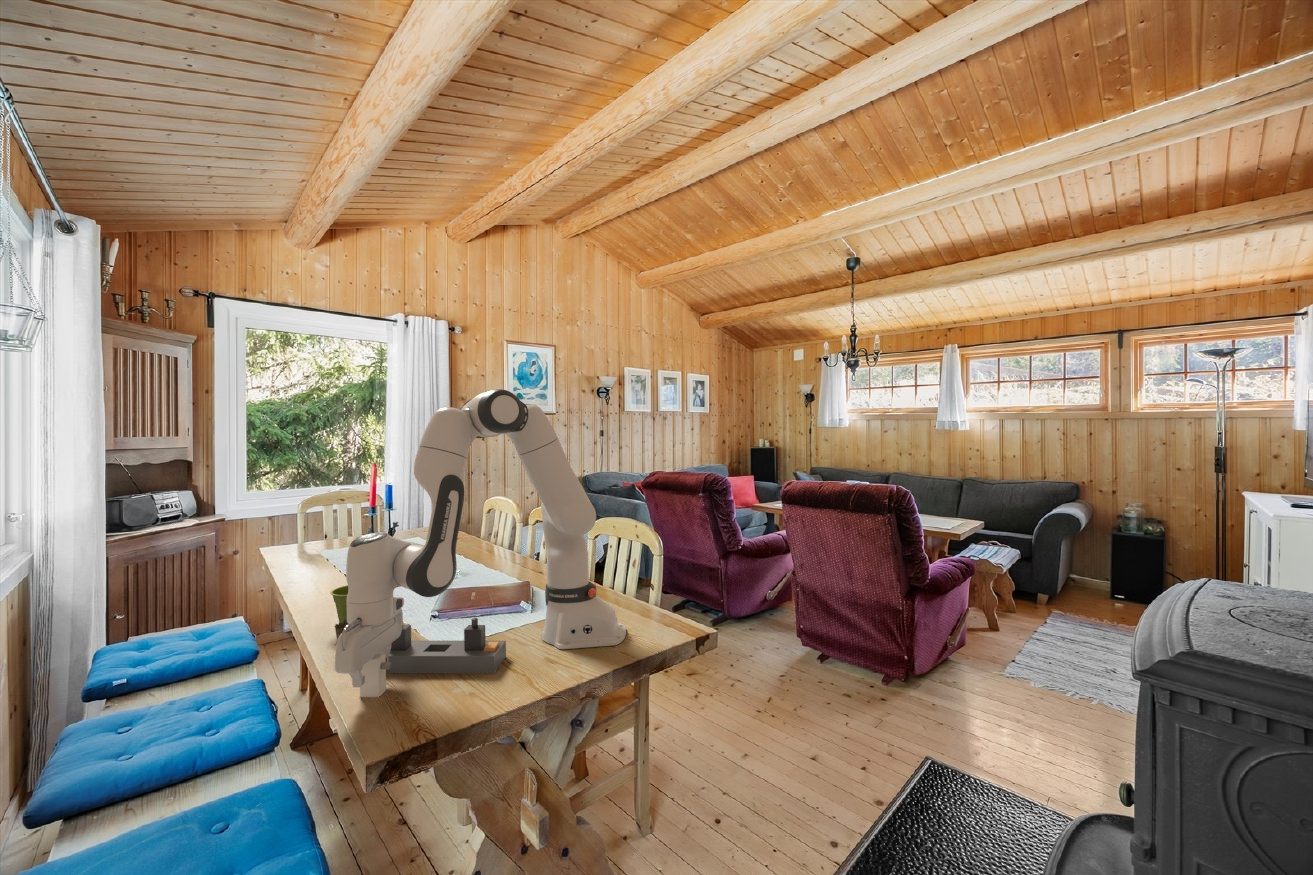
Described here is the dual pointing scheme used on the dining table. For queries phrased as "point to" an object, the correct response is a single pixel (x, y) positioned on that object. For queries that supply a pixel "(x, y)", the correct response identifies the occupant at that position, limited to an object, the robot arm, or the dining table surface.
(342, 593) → the plant pot
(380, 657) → the plug
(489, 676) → the dining table surface
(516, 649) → the dining table surface
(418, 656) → the power strip
